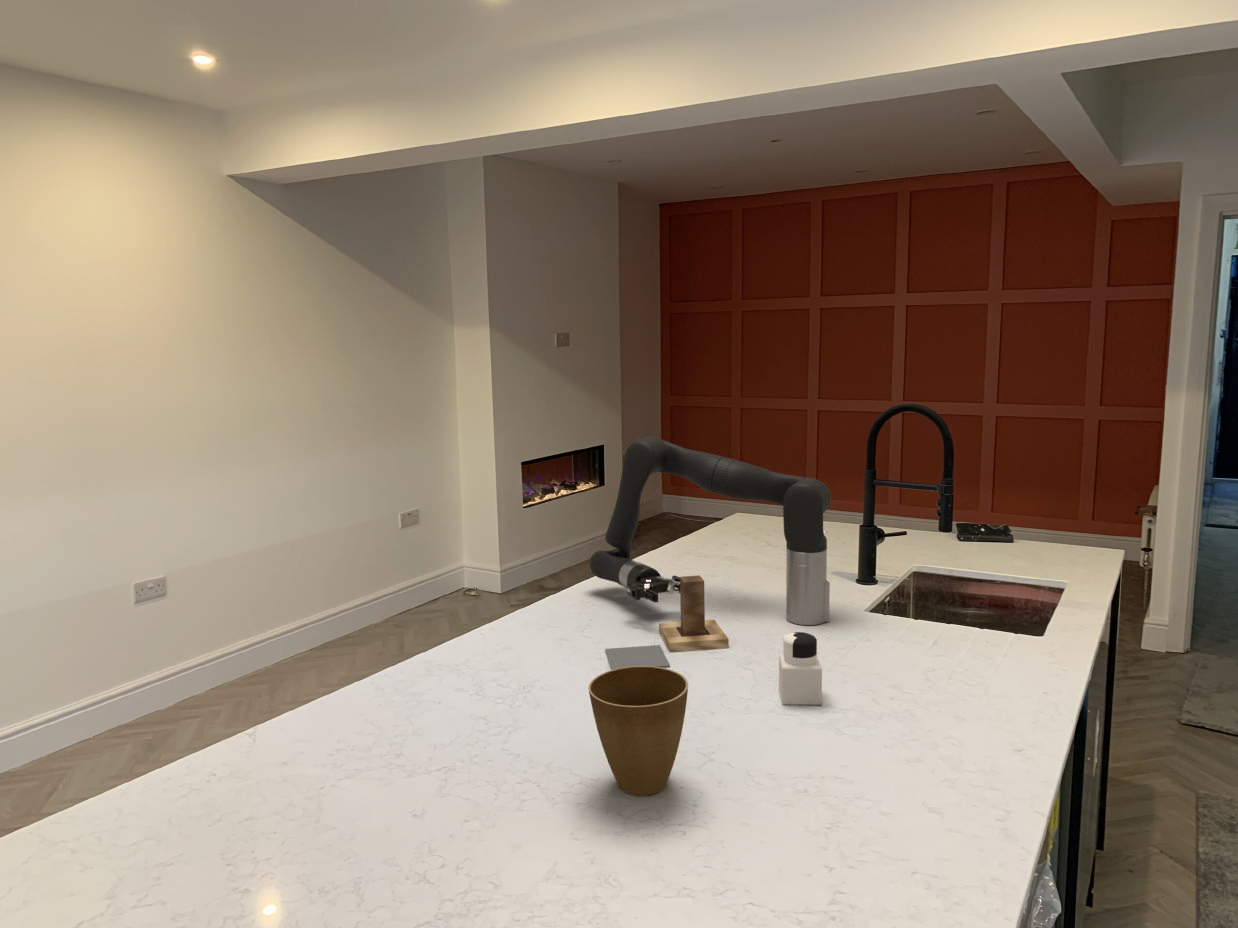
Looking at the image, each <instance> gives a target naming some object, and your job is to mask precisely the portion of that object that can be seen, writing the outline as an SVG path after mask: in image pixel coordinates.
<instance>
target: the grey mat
mask: <svg viewBox="0 0 1238 928" xmlns="http://www.w3.org/2000/svg"><path fill="white" fill-rule="evenodd" d="M604 651H605V654H606V657H607V659H608V663H609V667H610V670H614V669H618V668H623V667H631V666H654V667H661V668H666V669H667V668H671V665H670V662H669V660H668V658H667V656H666V655H665V652H664V650H663V649H662V647H661V645H660V644H657V645H655V644H654V645H643V646H642V645H640V646H626V647H625V646H624V647H613V648H610V647H609V648H605V650H604Z"/></svg>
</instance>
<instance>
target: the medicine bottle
mask: <svg viewBox="0 0 1238 928" xmlns="http://www.w3.org/2000/svg"><path fill="white" fill-rule="evenodd" d="M782 646H783V647H782V648H783V649H782V650H783V653H780V654H779V655H778V689H779V691H778V692H779V695H780V699H781V703H782V705H789V706H790V705H792V706H793V705H794V706H795V705H796V706H797V705H798V706H799V705H801V706H805V705H806V706H821V705H822V703H823V702H822V701H823V700H822V699H823V698H822V697H823V695H822V694H823V693H822V691H823V689H822V688H823V685H822V684H823V668H822V665H821V662H820V660H819V658H818V657H819V656H818V654H817V653H818V652H817V651H818V648H817V647H818V639H817V638H816V637H815V636H814V635H813V634H811V633H808V632H803V631H795V632H790V633H787V634H785V635H784V636H783V645H782Z"/></svg>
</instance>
